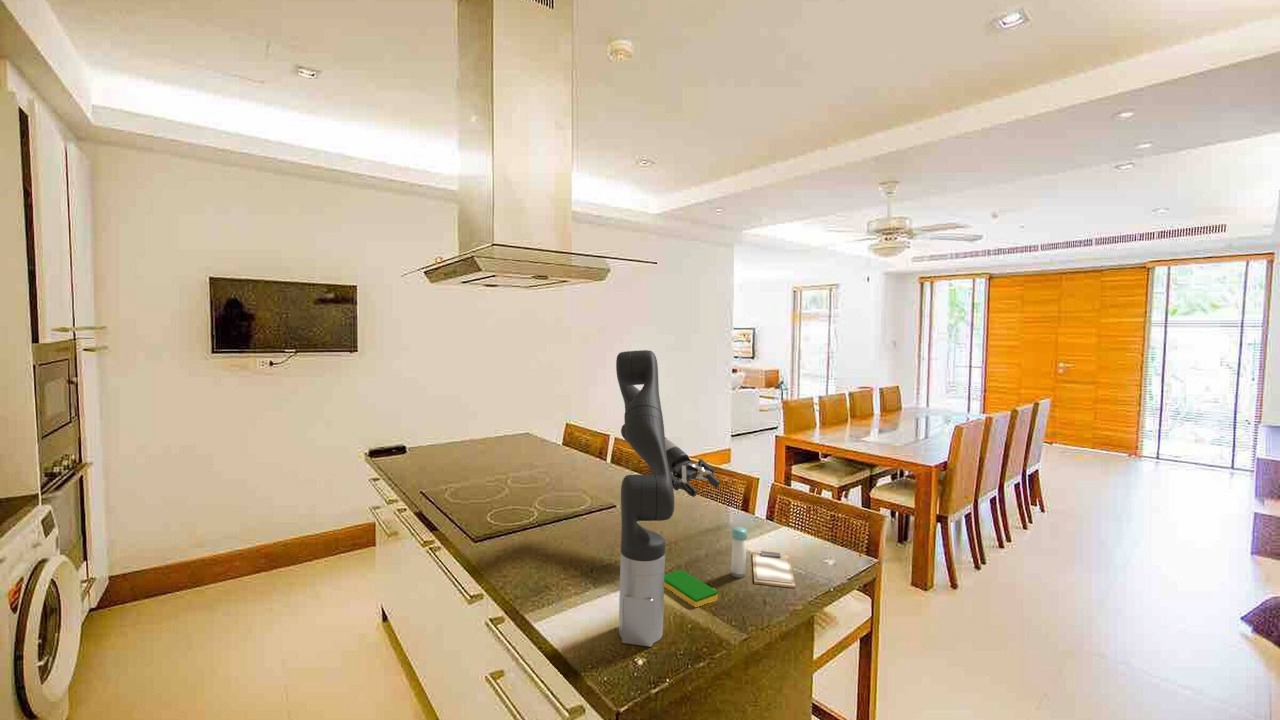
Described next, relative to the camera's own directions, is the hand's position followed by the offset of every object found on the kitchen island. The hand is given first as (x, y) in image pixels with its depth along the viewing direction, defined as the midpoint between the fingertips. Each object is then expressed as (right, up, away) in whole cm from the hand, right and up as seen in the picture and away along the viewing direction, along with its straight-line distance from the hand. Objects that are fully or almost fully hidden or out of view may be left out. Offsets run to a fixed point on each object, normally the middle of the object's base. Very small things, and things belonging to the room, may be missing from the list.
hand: (707, 489), depth 142 cm
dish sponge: (-7, -22, -15) cm, 27 cm away
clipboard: (+17, -21, -2) cm, 27 cm away
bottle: (+7, -21, -6) cm, 23 cm away
